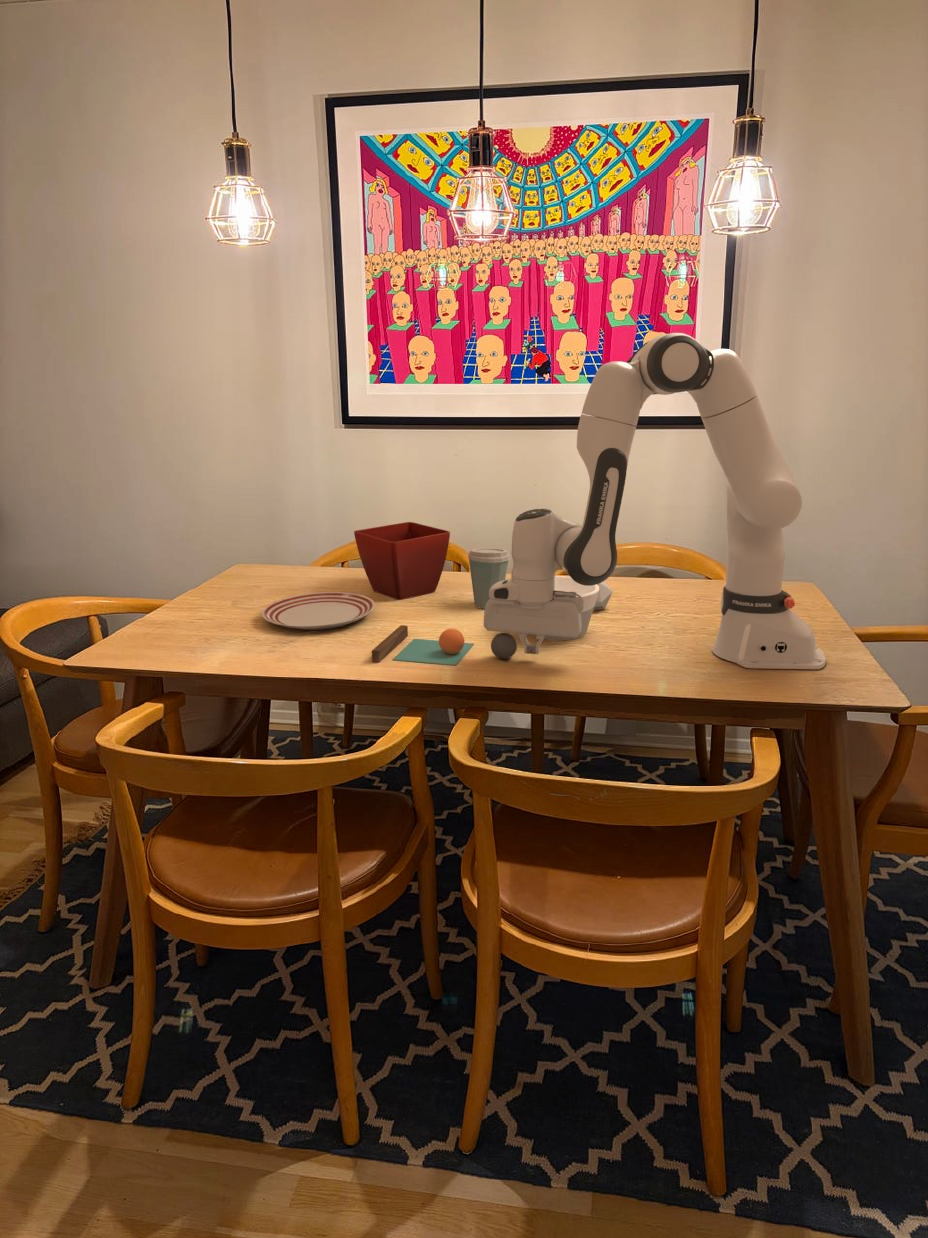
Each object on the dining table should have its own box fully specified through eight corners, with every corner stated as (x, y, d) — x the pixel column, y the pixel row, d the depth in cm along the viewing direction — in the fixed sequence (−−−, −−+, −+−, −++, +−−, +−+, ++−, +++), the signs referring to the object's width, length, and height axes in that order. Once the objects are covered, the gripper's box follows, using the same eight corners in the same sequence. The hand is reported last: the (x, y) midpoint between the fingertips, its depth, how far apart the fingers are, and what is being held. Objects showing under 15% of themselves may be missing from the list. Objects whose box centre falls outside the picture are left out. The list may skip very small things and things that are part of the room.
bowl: (596, 646, 184) (598, 599, 181) (509, 642, 188) (510, 596, 185) (598, 620, 203) (600, 577, 199) (519, 617, 206) (519, 574, 203)
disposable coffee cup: (466, 600, 220) (466, 544, 215) (507, 599, 220) (507, 543, 216) (469, 612, 210) (469, 553, 205) (512, 611, 210) (513, 552, 206)
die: (568, 610, 213) (577, 587, 205) (579, 587, 218) (588, 563, 210) (598, 623, 212) (609, 600, 204) (608, 600, 217) (619, 576, 209)
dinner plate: (309, 645, 188) (308, 630, 187) (240, 621, 206) (238, 608, 205) (398, 617, 207) (398, 604, 206) (328, 597, 225) (327, 585, 224)
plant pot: (394, 605, 216) (392, 541, 211) (355, 591, 231) (352, 530, 226) (453, 592, 228) (452, 531, 223) (411, 579, 242) (410, 521, 237)
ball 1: (458, 620, 181) (438, 633, 183) (450, 628, 176) (430, 641, 178) (472, 641, 182) (452, 653, 184) (465, 650, 177) (445, 662, 179)
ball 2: (495, 627, 179) (492, 651, 181) (489, 635, 174) (486, 660, 176) (520, 631, 178) (517, 656, 180) (515, 639, 173) (512, 664, 175)
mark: (473, 644, 186) (473, 643, 186) (456, 665, 174) (456, 664, 174) (414, 639, 190) (414, 638, 190) (392, 660, 177) (392, 659, 177)
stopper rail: (407, 636, 193) (407, 625, 192) (379, 662, 176) (378, 651, 175) (401, 635, 193) (400, 625, 192) (372, 661, 176) (371, 650, 176)
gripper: (585, 588, 172) (583, 652, 176) (488, 582, 177) (488, 644, 181) (581, 596, 166) (579, 662, 170) (481, 590, 171) (481, 654, 175)
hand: (531, 653), depth 176 cm, fingers closed
